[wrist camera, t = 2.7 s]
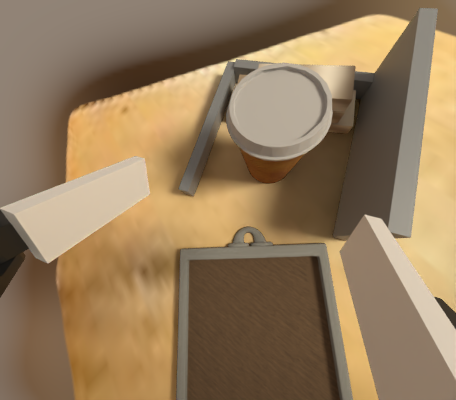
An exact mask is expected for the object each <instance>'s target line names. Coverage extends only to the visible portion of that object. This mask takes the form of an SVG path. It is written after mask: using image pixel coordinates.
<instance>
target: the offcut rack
mask: <svg viewBox="0 0 456 400" xmlns="http://www.w3.org/2000/svg"><path fill="white" fill-rule="evenodd" d="M437 10H438V9H431V8H420V9H419V10H418V11H417V13H416V14H415V16H414V17H413V19H412V20H411V22H410V23H409V24H408V26H407V27H406V29H405V30H404V32H403V33H402V35H401V36H400V37H399V39H398V40H397V42H396V43H395V45H394V46H393V48H392V49H391V50H390V52H389V53H388V55H387V56H386V58H385V59H384V61H383V62H382V63H381V65H380V66H379V68H378V69H377V71H376V72H375V73H367V72H357V71H355V77H354V89H353V90H356V97H355V99H361V100H360V104H359V109H358V114H357V119H356V124H355V129H354V134H353V139H352V144H351V149H350V154H349V159H348V164H347V169H346V173H345V178H344V183H343V188H342V193H341V198H340V203H339V208H338V213H337V218H336V223H335V228H334V233H333V237H335V238H338V239H341V240H345V241H347V240H348V238H349V237H350V235H351V234H352V232H353V231H354V229H355V228H356V226H357V225H358V223H359V222H360V220H361V219H362V217H363V216H364V214H365V215H369V216H372V217H376V218H380V219H382V220H383V222H384V223H385V225H386V226H387V228H388V229H389V231H390V232H391V234H392V235H393V237H394V238H411V231H412V223H413V214H414V206H415V198H416V189H417V181H418V172H419V164H420V155H421V147H422V138H423V130H424V121H425V113H426V104H427V96H428V87H429V79H430V70H431V62H432V53H433V45H434V37H435V28H436V20H437ZM259 64H277V63H268V62H258V61H248V60H238V59H236V62H229V61H228V63H227V66H226V68H225V71H224V73H223V76H222V79H221V81H220V84H219V86H218V89H217V91H216V94H215V96H214V99H213V102H212V104H211V107H210V109H209V112H208V114H207V117H206V119H205V122H204V125H203V127H202V130H201V132H200V135H199V137H198V140H197V143H196V145H195V148H194V150H193V153H192V155H191V158H190V160H189V163H188V166H187V168H186V171H185V173H184V176H183V178H182V181H181V183H180V186H179V190H180V191H182V192H183V193H185V194H187V195H191V196H194V194H195V192H196V189H197V186H198V184H199V181H200V178H201V175H202V173H203V170H204V167H205V165H206V162H207V159H208V156H209V154H210V151H211V148H212V146H213V143H214V140H215V138H216V135H217V132H218V129H219V127H220V124H221V121H222V119H223V116H224V113H225V111H226V108H227V105H228V102H229V100H230V97H231V94H232V92H233V89H234V86H235V83H238V79H239V75H248V74H250V73H251V72H253V71H254V70H256V69H258V67H259Z"/></svg>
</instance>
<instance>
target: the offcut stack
mask: <svg viewBox="0 0 456 400" xmlns="http://www.w3.org/2000/svg"><path fill="white" fill-rule="evenodd" d="M267 65H271V64H259V67H258V68H261V67H263V66H267ZM302 66H305V67H307V68H309V69H311V70H313V71H315V72H316V73H318V74H319V75H320V76H321V77H322V78H323V80H324V81H325V82H326V83H327V85H328V87H329V90H330V92H331V94H332V112H333V115H332V121H331V126H330V128H329V130H328V132H336V133H346V134H347V133H348V132H349V131H350V130H351V128H352V127H353V122H354V110H355V97H356V90H353V89H354V77H355V66H336V65H302ZM246 76H247V75H239V79H238V83H237V84H235V87H234V89H235V88H236V86H237V85H238V84H239V83H240V81H241V80H242V79H243V78H244V77H246Z"/></svg>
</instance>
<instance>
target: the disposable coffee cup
mask: <svg viewBox="0 0 456 400" xmlns="http://www.w3.org/2000/svg"><path fill="white" fill-rule="evenodd" d="M332 115H333V112H332V94H331V92H330V90H329V87H328V85H327V83H326V82H325V81H324V80H323V78H322V77H321V76H320V75H319V74H318V73H316V72H315V71H313V70H311V69H309V68H307V67H305V66H302V65H298V64H290V63H277V64H271V65H267V66H263V67H261V68H258V69H256V70H254V71H253V72H251V73H250V74H248V75H247V76H246V77H244V78H243V79H242V80H241V81H240V83H239V84H238V85H237V86H236V88H235V89H234V91H233V93H232V96H231V99H230V103H229V105H228V108H227V113H226V124H227V128H228V131H229V134H230V136H231V138H232V139H233V141H234V142H235V143H236V145H238V146H239V148H240V150H241V153H242V155H243V158H244V160H245V162H246V164H247V167H248V169H249V172H250V174H251V175H252V176H253V177H254V178H255V179H256V180H258V181H260V182H263V183H275V182H278V181H280V180H281V179H283V178H284V177H285V176H286V175H287V174H288V173H289V171H290V170H291V169H292V168H293V167H294V166H295V165H296V163H297V162H298V161H299V160H300V159H301V158H302V156H303V155H304V154H306V153H307V152H308V151H310V150H311V149H313V148H314V147H315V146H317V145H318V144H319V143H320V142H321V141H322V139H323V138H324V137H325V135H326V134H327V132H328V130H329V128H330V126H331V121H332Z"/></svg>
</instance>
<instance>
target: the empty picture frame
mask: <svg viewBox="0 0 456 400" xmlns="http://www.w3.org/2000/svg"><path fill="white" fill-rule="evenodd" d="M245 233H252V234H253V237H254V242H253V243H251V244H250V246H249V244H248V243H244V235H245ZM176 400H353V396H352V391H351V385H350V379H349V373H348V368H347V362H346V356H345V350H344V345H343V339H342V333H341V327H340V321H339V316H338V310H337V304H336V298H335V293H334V287H333V281H332V275H331V270H330V264H329V258H328V252H327V247H326V244H325V243H311V244H287V245H273V243H272V242H266V240H265V238H264V236H263V235H262V233H261V232H260V231H259V230H257V229H255V228H253V227H244V228H242V229H240V230H239V231H238V232H237V233H236V235H235V237H234V240H233V243H230V244H228V247H213V248H188V249H181V250H180V279H179V316H178V354H177V391H176Z"/></svg>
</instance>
